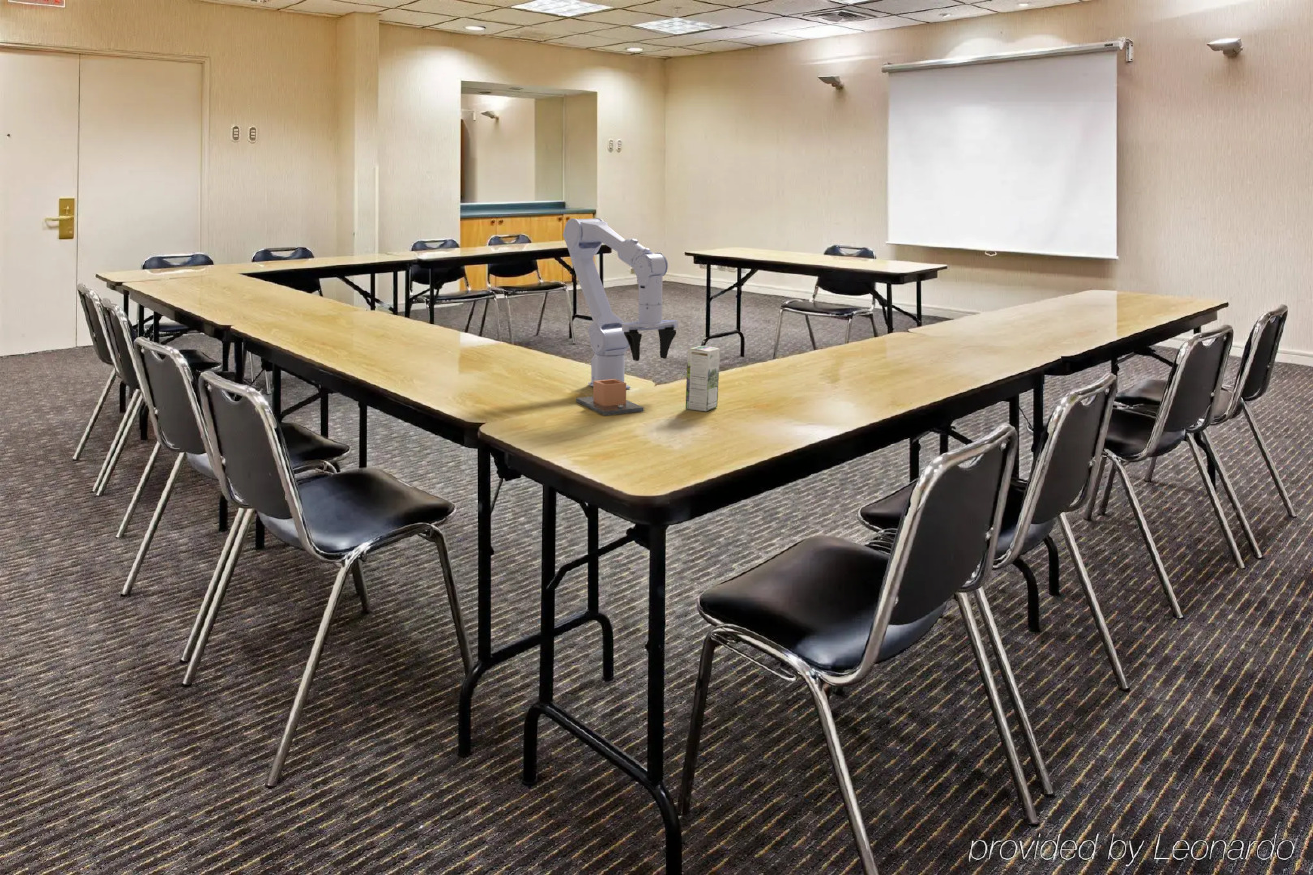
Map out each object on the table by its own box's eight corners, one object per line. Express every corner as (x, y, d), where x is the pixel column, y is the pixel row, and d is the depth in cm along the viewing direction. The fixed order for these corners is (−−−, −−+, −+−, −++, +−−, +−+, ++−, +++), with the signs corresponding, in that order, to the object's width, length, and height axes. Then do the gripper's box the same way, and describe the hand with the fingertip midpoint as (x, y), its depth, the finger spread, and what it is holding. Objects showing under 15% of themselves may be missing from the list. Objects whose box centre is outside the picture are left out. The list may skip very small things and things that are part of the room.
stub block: (576, 402, 237) (576, 389, 236) (613, 398, 241) (613, 386, 241) (604, 415, 223) (604, 402, 222) (643, 411, 228) (643, 398, 227)
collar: (593, 401, 233) (593, 380, 232) (615, 399, 236) (615, 378, 234) (603, 406, 228) (603, 385, 227) (626, 404, 231) (626, 383, 229)
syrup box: (696, 404, 236) (698, 344, 232) (718, 407, 233) (720, 347, 229) (685, 409, 231) (686, 348, 227) (707, 412, 228) (708, 350, 224)
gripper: (631, 307, 231) (631, 363, 235) (684, 304, 238) (683, 359, 241) (618, 303, 237) (617, 359, 241) (670, 301, 244) (669, 355, 247)
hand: (649, 359), depth 241 cm, fingers open, 7 cm apart
